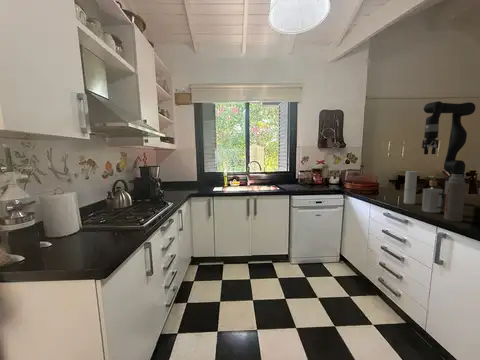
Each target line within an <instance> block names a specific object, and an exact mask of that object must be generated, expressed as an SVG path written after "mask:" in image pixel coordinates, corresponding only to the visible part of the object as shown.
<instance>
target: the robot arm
mask: <svg viewBox="0 0 480 360" xmlns="http://www.w3.org/2000/svg"><path fill="white" fill-rule="evenodd" d="M423 111H424V113H426V114H431V115H428V116H427V117H426V119H425V126H424V135H423V137H424V139H422V143H421V145H422V146H421V149H423V155H428V154H429V148H430V147H431V155H436V152H437V151H436V150H437V149H438V148H439V139H438V138H439V130H440V129H439V128H440V127H439V121H440V117H441V115H442V114H451V128H450V134H449V139H448V147H447V152H446V156H445V159H444V160H445V161H444V163H443V169H444V171H445V172H448V173H452V172H461V173H463V178H465V172H466V163H465V161H464V160H460V159H459V160H458V159H457V155H458V153H459V151H460V150H462V148H463V147H464V146H465V145H466V142H467V135H468V133H467V131H466V129H465V127H464V126H463V123H462V117H465V116H470V115H472V114H474V113H475V112H476V104H475V103H474V102H463V103H450V102H442V101H440V100H438V101H433V102H429V103H427V104H425V105H424V107H423ZM450 177H451V175H449V176H446V177H445V182H444V192H443V193H444V194H446V189H447V181H449V178H450Z"/></svg>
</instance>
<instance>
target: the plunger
mask: <svg viewBox="0 0 480 360" xmlns="http://www.w3.org/2000/svg"><path fill="white" fill-rule="evenodd" d="M428 183H429V184H428V185H429V186H431V187H430V188H431V189H432V190H434V189H435V187H436V186H437V185H438V180H429V182H428Z"/></svg>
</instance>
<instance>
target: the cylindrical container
mask: <svg viewBox="0 0 480 360" xmlns="http://www.w3.org/2000/svg"><path fill="white" fill-rule="evenodd" d="M404 181H405V182H404V191H403V192H404V193H403V203H404V204H408V205H415V204H416V195H417V193H416V192H417V181H418V171H416V170H406V171H405V177H404Z"/></svg>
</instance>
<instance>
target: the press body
mask: <svg viewBox="0 0 480 360" xmlns="http://www.w3.org/2000/svg"><path fill="white" fill-rule="evenodd" d="M431 188H432V187H427V188H421V189H422V190H421V191H422V200H421V201H422V203H421V211H423V212H424V213H432V214H439V213H441V210H445V201H446V194H444V192H443V191H444V189H441V188H434V190H432V189H431Z"/></svg>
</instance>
